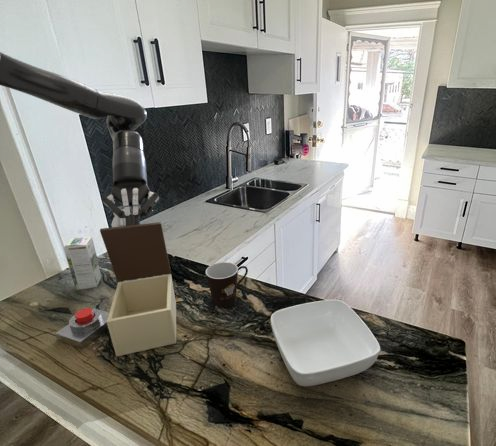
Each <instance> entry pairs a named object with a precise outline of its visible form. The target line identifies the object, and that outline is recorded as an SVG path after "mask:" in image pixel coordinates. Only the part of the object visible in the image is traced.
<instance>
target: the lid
mask: <svg viewBox="0 0 496 446" xmlns="http://www.w3.org/2000/svg"><path fill="white" fill-rule="evenodd" d="M163 230H164V229H163V225H162V222H161V221H158V222H150V223H140V224H139V225H130V226H121V227H112V226H111V227H104V228H100V229H99V232H100V236H101V238H102V241H103V245H104V247H105V249H106V253H107V255H108V259H109V261H110V264H111V267H112V270H113V273H114V276H115V279H116V281H117V283H118V282H124V281H130V280H136V279H143V278H149V277H155V276H161V275H168V274H172V270H171V266H170V265H171V264H170V260H169V255H168V251H167V250H168V249H167V246H166V240H165V236H164V235H165V234H164V231H163Z"/></svg>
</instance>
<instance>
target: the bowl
mask: <svg viewBox="0 0 496 446" xmlns="http://www.w3.org/2000/svg"><path fill="white" fill-rule="evenodd" d="M270 327H271V331H272V334H273V337H274V341H275V345H276V347H277V348H278V352H279V353H280V355H281V359H282V360H283V363H284V364H285V365H284V366H285V367H286V369H287V372H288V373H289V375H290V377H291V378H292V380H293V381H294V382H295V383H296V384H297V385H298V386H300V387H314V386H317V385H322V384H326V383H332V382H334V381H338V380H341V379H346V378H348V377H351V376H355V375H357V374H360V373H362V372H364V371H367V370H368V369H370V368H371V367H372V366H373V365H374V364H375V362H376V361H377V359H378V357H379V356H380V353H381V346H380V345H381V344H380V343H379V341H378V340H377V338H376V336H375V335H374V334H373V332H372V331H371V329H370V327H368V325H367V324H366V323H365V322H364V321H363V320H362V318H361V317H360V316H359V315H358V314H357V312H355V310H354V309H353V308H352V307H351V306H349V304H347V303H346V302H344V301H343V300H340V299H325V300H318V301H311V302H305V303H300V304H296V305H293V306H288V307H285V308H280V309H278V310H276V311H274V312H273V313H272V314H271V316H270Z"/></svg>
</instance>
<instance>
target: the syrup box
mask: <svg viewBox="0 0 496 446" xmlns="http://www.w3.org/2000/svg"><path fill="white" fill-rule="evenodd" d="M63 250H64V254H65V256H66V260H67V264H68V267H69V271H70V275H71V277H72V282H73V284H74V288H75V291H79V290H86V289H87V290H88V289H92V288H98V286H99V284H100V283H101V280H102V277H103V275H102V271H101V267H100V263H99V260H98V256H97V255H98V254H97V251H96V248H95V243H94V238H93V237H92V236H80V237H73V238H70V239H69V240H68V241H67V243H66V244H65V245H64V246H63Z"/></svg>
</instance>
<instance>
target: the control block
mask: <svg viewBox="0 0 496 446" xmlns="http://www.w3.org/2000/svg"><path fill="white" fill-rule="evenodd" d="M91 309H92V310H93V314H94V318H93V319H92V320H91V321H89V322H86V323H82V324H78V323H77V321H76V318H75V314H74V315H73V316H72V317H70V319H69V320H68V324H67V325H65V326H64V327H62V328H60V330H58V331H56V332H54V335H55V337H56V340H57V341H58V342H60V343H63V344H65V345H69V346H72V347H75V348H78V349H81V350H83V349H85V348H86V347H87V346H89V345H90V344H91V343H92V342H94V341H95V340H96V339H98V338H99V337H100V336H101V335H103V334H104V333H105V332H107V331H109V329H108V325H107V319H108V315H109V312H110V311H109V312H108V311H105V310H102V309H98V308H96V307H92V308H91Z"/></svg>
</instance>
